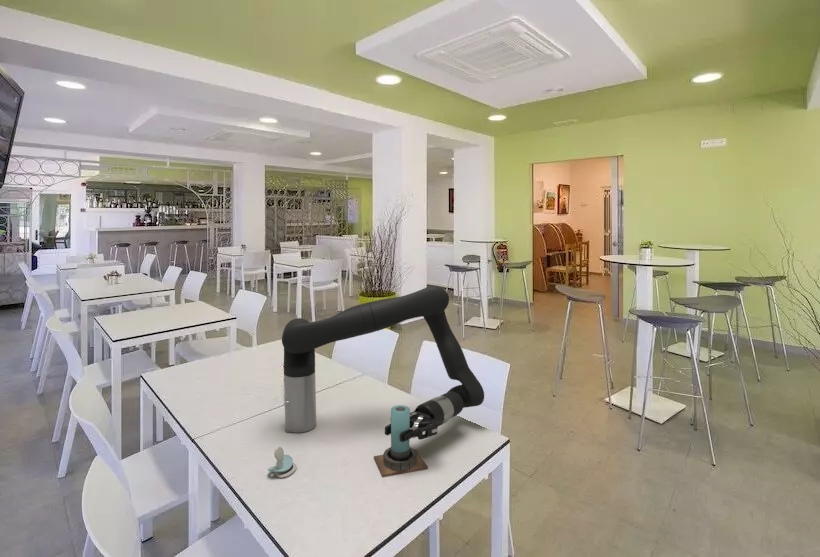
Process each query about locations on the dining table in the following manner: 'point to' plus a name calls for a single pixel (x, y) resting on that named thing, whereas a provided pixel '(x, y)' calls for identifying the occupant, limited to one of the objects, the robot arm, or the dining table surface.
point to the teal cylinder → (399, 425)
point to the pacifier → (282, 464)
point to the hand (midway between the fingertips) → (393, 434)
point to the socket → (399, 463)
